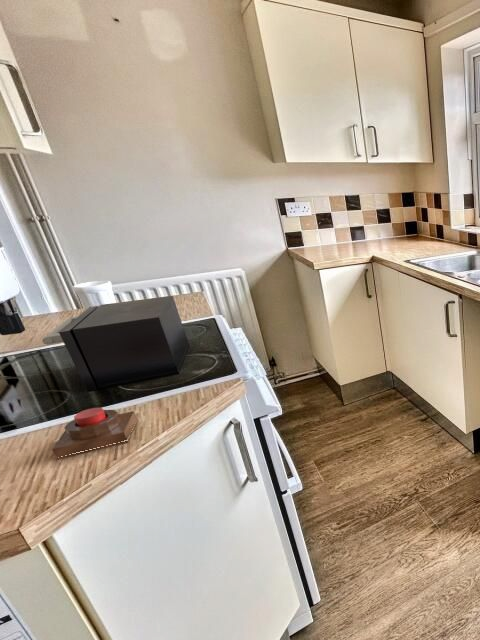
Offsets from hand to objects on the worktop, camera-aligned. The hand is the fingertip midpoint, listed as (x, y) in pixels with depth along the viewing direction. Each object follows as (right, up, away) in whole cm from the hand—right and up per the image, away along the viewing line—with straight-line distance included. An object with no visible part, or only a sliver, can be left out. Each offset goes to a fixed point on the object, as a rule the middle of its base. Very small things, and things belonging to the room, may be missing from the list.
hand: (13, 332), depth 88 cm
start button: (+32, -16, -16) cm, 39 cm away
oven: (+17, -8, +14) cm, 23 cm away
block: (+32, -19, -14) cm, 40 cm away
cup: (-15, +1, +37) cm, 40 cm away
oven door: (+8, -10, +9) cm, 16 cm away
